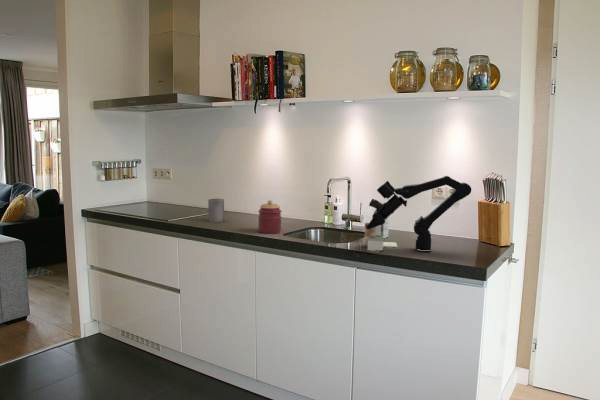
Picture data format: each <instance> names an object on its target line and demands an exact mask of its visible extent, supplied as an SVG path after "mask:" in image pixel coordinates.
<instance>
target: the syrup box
mask: <svg viewBox="0 0 600 400" xmlns="http://www.w3.org/2000/svg"><path fill="white" fill-rule="evenodd" d="M374 212H377V211H375V210H374ZM389 221H390V216H389V217H388V218H387V219H385V223H384V224H383V225H379V226H376V230H375V237H376V238H385V239H387V238H386V237H388V238H389V228H390V227H389V226H390V225H389V224H390V222H389Z"/></svg>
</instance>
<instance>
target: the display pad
mask: <svg viewBox="0 0 600 400" xmlns="http://www.w3.org/2000/svg"><path fill="white" fill-rule="evenodd" d="M384 246H385V247H397V248H398V244H397V242H390V241H383V247H384Z"/></svg>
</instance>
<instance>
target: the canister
mask: <svg viewBox="0 0 600 400" xmlns="http://www.w3.org/2000/svg"><path fill="white" fill-rule="evenodd" d="M259 208H260V209H258V211H257V212H258V217H257V219H258V228H257V229H258V232H259V233H261V234H267V235H271V234H272V235H273V234H274V235H275V234H279V233H281V232H282V218H283V217H282V214H281V213H282V210H281V209H280V208H281V205H278V204H277V203H273V200H268V201H267V203H263V204H261V205H260V206H259Z"/></svg>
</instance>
